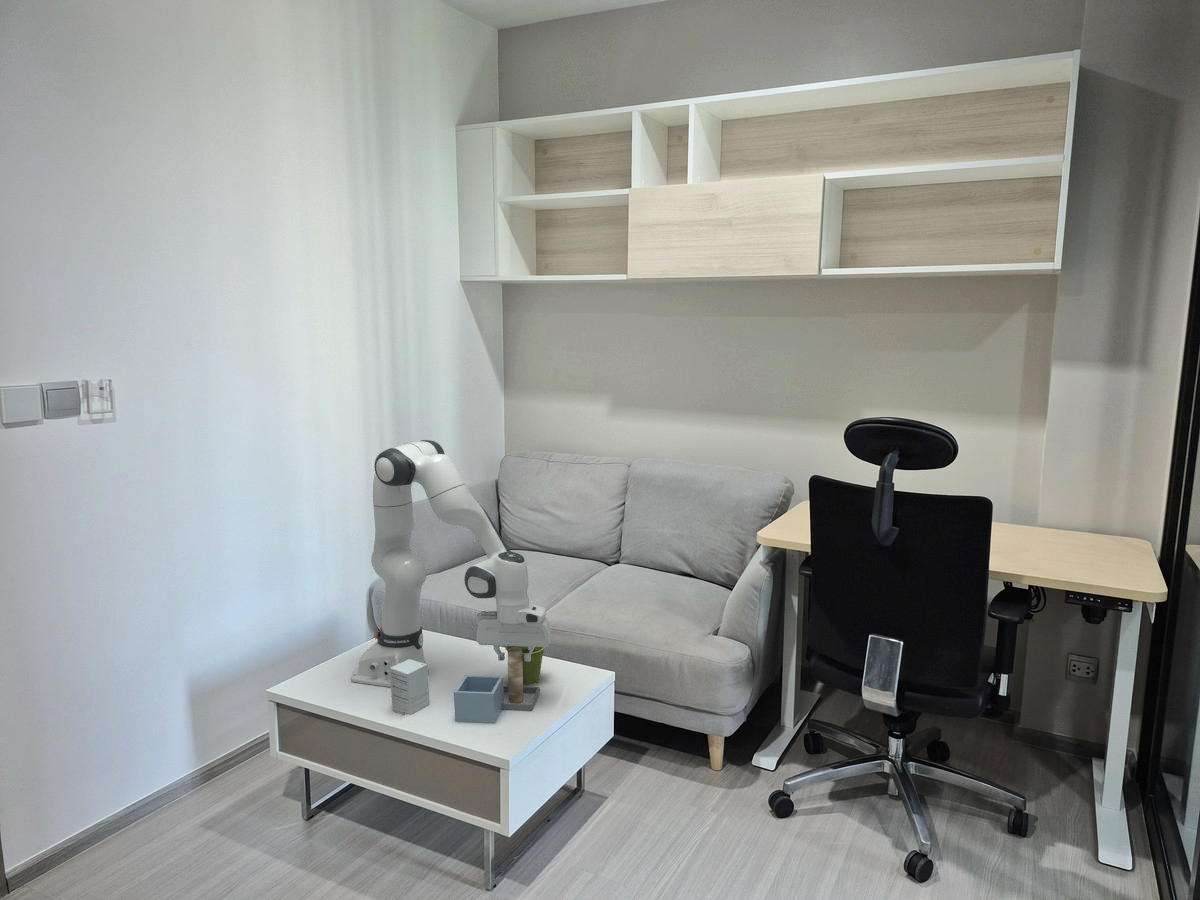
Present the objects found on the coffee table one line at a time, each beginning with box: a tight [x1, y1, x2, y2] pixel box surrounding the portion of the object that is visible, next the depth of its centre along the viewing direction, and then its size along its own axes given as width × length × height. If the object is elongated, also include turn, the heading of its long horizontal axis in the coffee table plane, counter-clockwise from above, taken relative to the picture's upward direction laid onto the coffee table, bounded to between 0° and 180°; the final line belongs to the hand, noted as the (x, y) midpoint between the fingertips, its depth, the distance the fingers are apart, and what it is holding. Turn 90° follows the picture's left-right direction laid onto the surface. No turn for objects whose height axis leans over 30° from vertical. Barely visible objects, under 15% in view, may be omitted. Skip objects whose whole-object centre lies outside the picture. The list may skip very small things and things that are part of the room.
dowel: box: [507, 647, 524, 704], centre depth 230 cm, size 4×4×15 cm
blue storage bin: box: [453, 674, 505, 725], centre depth 223 cm, size 11×11×9 cm
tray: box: [501, 685, 541, 712], centre depth 231 cm, size 11×11×2 cm
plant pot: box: [504, 646, 546, 686], centre depth 244 cm, size 12×12×11 cm
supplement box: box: [390, 659, 430, 716], centre depth 228 cm, size 7×7×13 cm
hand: (514, 660), depth 229 cm, fingers open, 6 cm apart
